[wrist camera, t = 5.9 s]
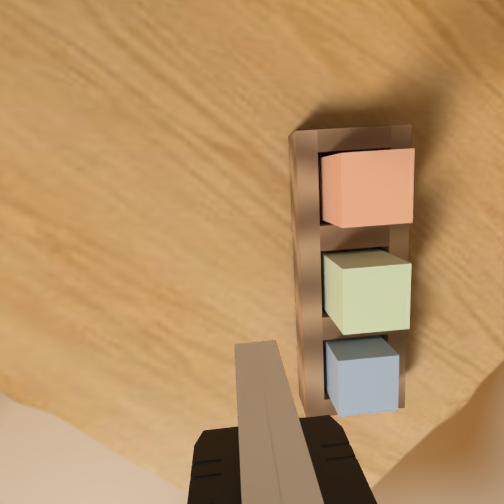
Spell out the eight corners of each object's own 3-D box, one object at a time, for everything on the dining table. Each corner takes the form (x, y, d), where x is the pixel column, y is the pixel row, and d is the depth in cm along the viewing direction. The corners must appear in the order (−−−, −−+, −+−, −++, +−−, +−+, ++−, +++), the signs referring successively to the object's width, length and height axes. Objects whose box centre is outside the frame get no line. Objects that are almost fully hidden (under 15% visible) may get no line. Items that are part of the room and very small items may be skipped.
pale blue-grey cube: (319, 330, 40) (337, 361, 33) (370, 325, 40) (399, 355, 34) (320, 377, 41) (338, 416, 35) (370, 372, 42) (398, 410, 35)
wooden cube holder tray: (288, 136, 36) (295, 130, 32) (392, 129, 37) (412, 123, 33) (299, 395, 42) (306, 417, 38) (388, 387, 43) (404, 407, 39)
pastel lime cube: (321, 252, 37) (342, 269, 30) (377, 247, 37) (411, 263, 30) (322, 306, 38) (343, 335, 31) (376, 302, 38) (409, 328, 31)
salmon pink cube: (318, 158, 35) (341, 152, 28) (378, 154, 35) (414, 148, 28) (320, 218, 36) (342, 228, 29) (377, 214, 36) (412, 222, 29)
